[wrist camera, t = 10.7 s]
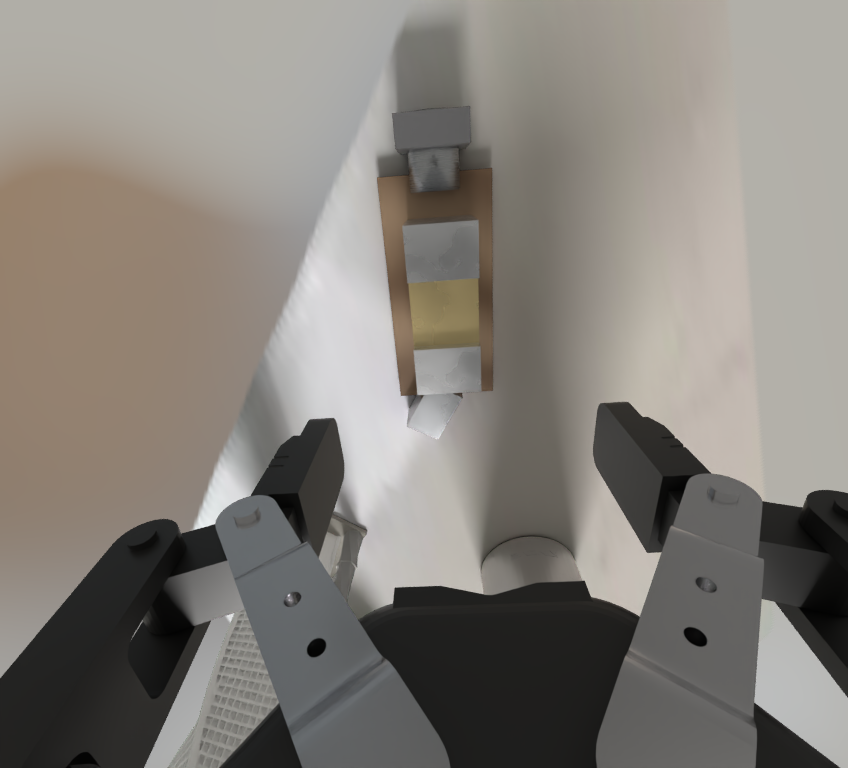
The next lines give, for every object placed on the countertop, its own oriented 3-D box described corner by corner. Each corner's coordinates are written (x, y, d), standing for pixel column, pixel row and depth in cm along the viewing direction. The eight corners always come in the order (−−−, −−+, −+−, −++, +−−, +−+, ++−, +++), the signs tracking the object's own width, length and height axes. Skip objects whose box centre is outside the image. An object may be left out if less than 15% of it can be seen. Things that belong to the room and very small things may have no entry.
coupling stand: (491, 419, 33) (498, 447, 30) (405, 424, 34) (402, 452, 30) (489, 111, 24) (499, 98, 21) (373, 122, 25) (362, 111, 21)
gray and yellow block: (470, 214, 26) (478, 219, 21) (474, 361, 30) (481, 391, 26) (407, 219, 26) (402, 226, 22) (419, 364, 30) (417, 395, 26)
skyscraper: (326, 582, 42) (166, 1176, 17) (252, 549, 40) (-52, 1159, 15) (367, 530, 39) (245, 1165, 14) (289, 493, 37) (-17, 1142, 12)
